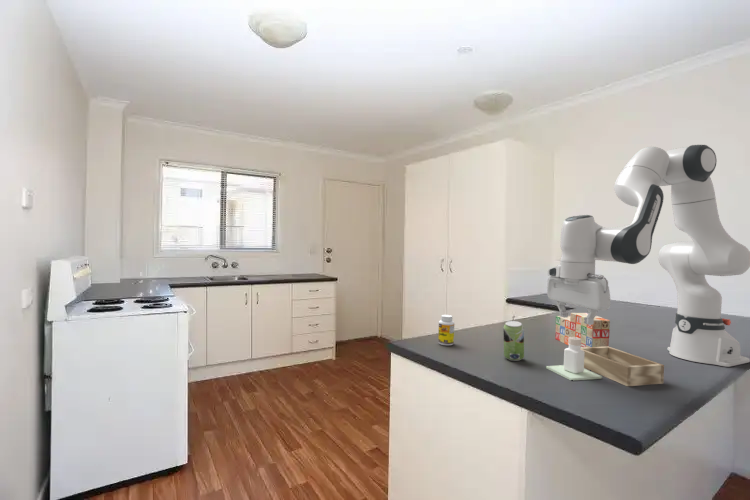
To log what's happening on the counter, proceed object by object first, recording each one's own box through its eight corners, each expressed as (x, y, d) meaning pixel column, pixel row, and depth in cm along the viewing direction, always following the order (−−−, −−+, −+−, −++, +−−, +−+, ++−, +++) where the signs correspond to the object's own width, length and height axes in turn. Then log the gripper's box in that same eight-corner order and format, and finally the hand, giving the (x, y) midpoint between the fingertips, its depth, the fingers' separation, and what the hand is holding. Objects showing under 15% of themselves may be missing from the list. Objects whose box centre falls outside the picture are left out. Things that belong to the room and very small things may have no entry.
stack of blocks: (554, 339, 145) (555, 308, 145) (569, 339, 146) (570, 308, 146) (591, 356, 124) (592, 319, 124) (609, 356, 125) (610, 319, 124)
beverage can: (524, 357, 120) (525, 320, 120) (523, 364, 113) (524, 325, 113) (503, 354, 122) (505, 318, 122) (501, 361, 116) (502, 322, 116)
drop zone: (574, 366, 113) (574, 364, 112) (601, 378, 103) (601, 376, 103) (546, 368, 110) (546, 366, 110) (571, 380, 100) (571, 378, 100)
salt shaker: (584, 372, 105) (586, 339, 105) (575, 374, 104) (576, 340, 103) (571, 368, 109) (573, 335, 109) (562, 370, 107) (563, 337, 107)
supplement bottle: (434, 343, 135) (435, 315, 135) (445, 341, 138) (446, 313, 138) (446, 346, 130) (447, 317, 130) (457, 344, 133) (457, 316, 133)
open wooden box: (607, 362, 118) (608, 346, 118) (663, 383, 100) (664, 365, 100) (575, 363, 115) (575, 347, 115) (627, 386, 97) (627, 367, 97)
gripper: (617, 275, 96) (616, 328, 97) (561, 269, 116) (560, 313, 117) (597, 275, 95) (595, 329, 95) (543, 269, 115) (542, 313, 115)
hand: (575, 320), depth 106 cm, fingers open, 8 cm apart
